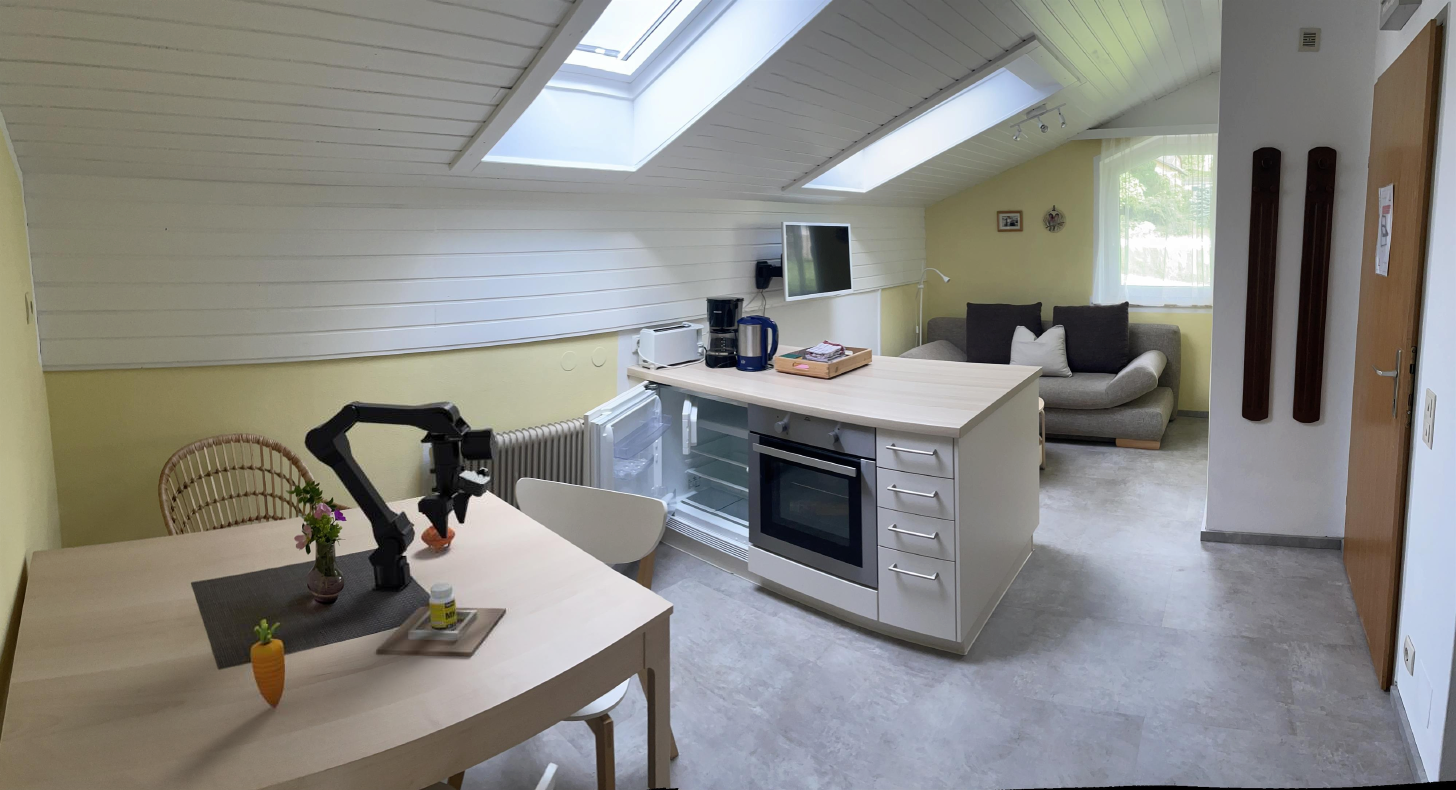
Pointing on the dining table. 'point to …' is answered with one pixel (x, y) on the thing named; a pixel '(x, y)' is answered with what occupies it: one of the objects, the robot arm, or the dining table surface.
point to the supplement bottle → (442, 607)
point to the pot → (436, 538)
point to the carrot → (268, 664)
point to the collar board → (442, 633)
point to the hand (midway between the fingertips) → (453, 530)
